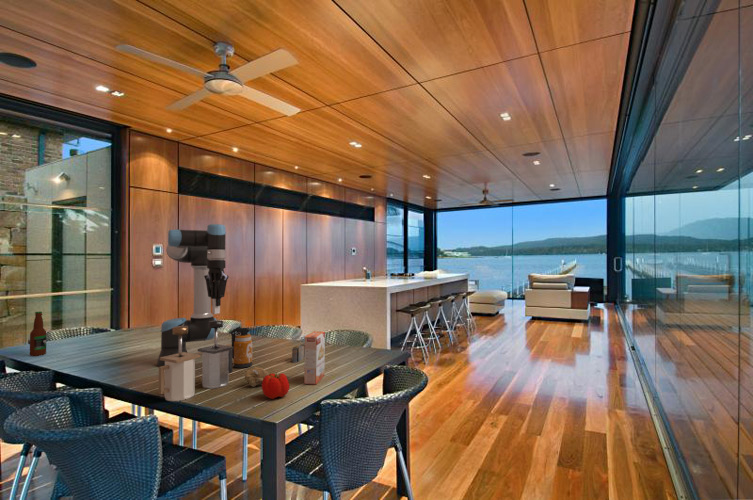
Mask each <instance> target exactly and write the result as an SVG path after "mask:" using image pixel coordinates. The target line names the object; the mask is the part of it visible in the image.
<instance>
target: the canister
mask: <svg viewBox="0 0 753 500" xmlns="http://www.w3.org/2000/svg"><path fill="white" fill-rule="evenodd" d="M251 331H252V329H251V328H250V327H241V326H239V327H236V328H234V329H233V330H231V331H230V336H231V346H232V347H234V349H232V350H233V351H232V360H233V368H234V367H235V368H237V369H246V368H249V367H250V366H252V365H253V340H252V336H251V334H250V333H249V332H251Z"/></svg>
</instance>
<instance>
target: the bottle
mask: <svg viewBox="0 0 753 500" xmlns="http://www.w3.org/2000/svg"><path fill="white" fill-rule="evenodd" d="M34 314H35V315H34V316H35V317H34V320H33V329H32V330H31V331H30V334H29V356H30V357H40V356H39V355H42V356H44V354H45V355H46V354H47V330H46V329H45V328H44V319H43V312H42V311H35V312H34Z"/></svg>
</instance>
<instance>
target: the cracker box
mask: <svg viewBox="0 0 753 500" xmlns="http://www.w3.org/2000/svg"><path fill="white" fill-rule="evenodd" d="M325 338H326V332H325V331H322V330H321V331H319V330H317V331H316V330H315V331H314V330H313V331H312V332H310V333H309V334H307V335H305V336H304V345H305V358H304V363H303V364H304V366H303V368H304V370H303V371H304V374H303V375H304V376H303V377H304V378H303V380H304V381H303V382H304V383H303V384H304V385H317V384H318V383H319V382H320V381H321V380H322V379H323V378H324V377H325V360H326V359H325V353H326V352H325V350H326V347H325V345H326V342H325V341H326V339H325ZM322 377H323V378H322Z"/></svg>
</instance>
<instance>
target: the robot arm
mask: <svg viewBox="0 0 753 500" xmlns="http://www.w3.org/2000/svg"><path fill="white" fill-rule="evenodd" d="M206 228H207V230H204V229H203V230H197V229H196V230H195V229H194V230H193V229H177V228H176V229H169V230H167V231H168V232H167V233H168V234H167V246H166V249H165V250H166V255H167V256H168V257H169V258H170V259H172V260H173V261H175V262H178V263H184V264H188V263H189V264H190V267H191V268H192V269H193V271H194V272H193V312H192V314H191V315H190V317H189V318H190V319H188V320H187V318H186V317H176V318H170V319H167V320H164V321H163V322H162V323H161V330H160V332H161V333H160V334H161V336H160V337H161V340H160V352H159V354H158V355H159V356H158V357H157V362H156V363H157V364H156V365H157V367H161V366H165V361H162V360H160V357H164V356H169V355H173V354H178V353H179V335H173V327H176V326H188V334H183V335H182V352H186V353H188V350H187V343H191V342H201V341H204V342H205V341H209V340H210V341H211V340H213V339H214V328H209V321H214V320H217V318H216V317H214V315H217V314H221V300H222V298H224V297H225V294H226V288H227V287H226V286H227V284H228V283H227V282H228V279H229V275H226V274H225V270H224V269H226V258H227V257H226V256H227V255H226V253H227V251H226V238H227V237H226V234H227V231H226V226H225V225H224V224H220V223H219V224H216V223H215V224H214V223H211V224H208V225H207V227H206ZM211 307H212V310H211Z"/></svg>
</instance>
